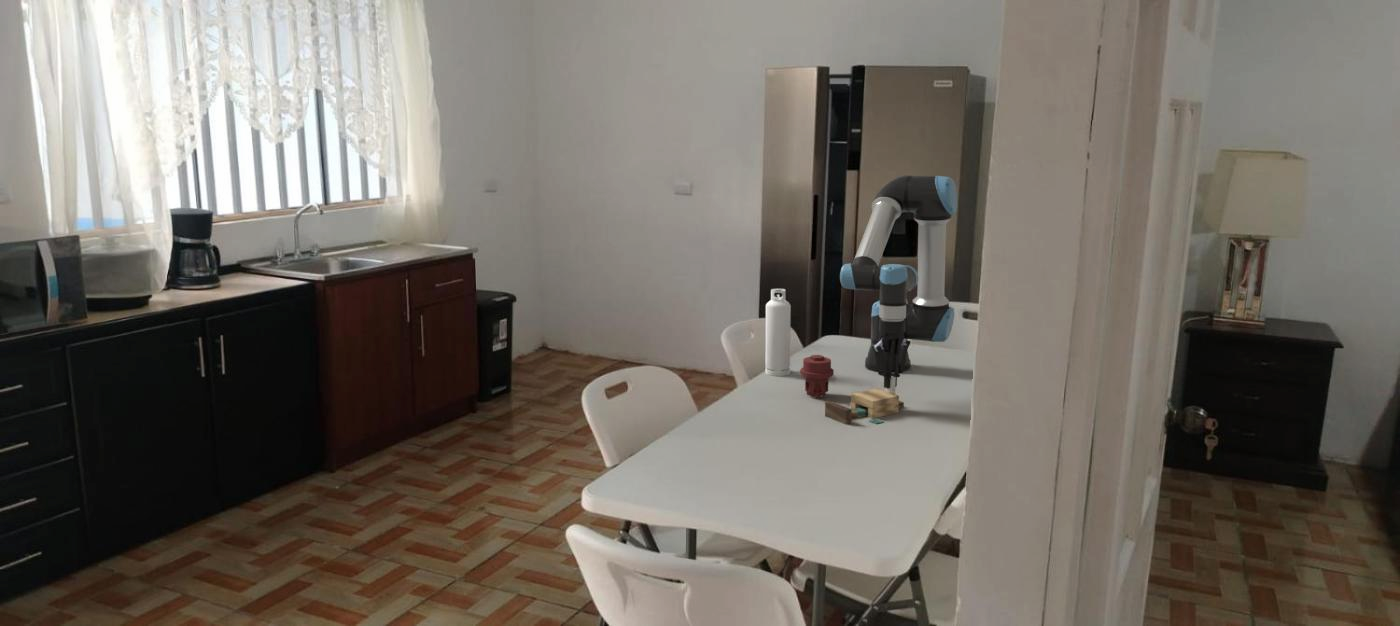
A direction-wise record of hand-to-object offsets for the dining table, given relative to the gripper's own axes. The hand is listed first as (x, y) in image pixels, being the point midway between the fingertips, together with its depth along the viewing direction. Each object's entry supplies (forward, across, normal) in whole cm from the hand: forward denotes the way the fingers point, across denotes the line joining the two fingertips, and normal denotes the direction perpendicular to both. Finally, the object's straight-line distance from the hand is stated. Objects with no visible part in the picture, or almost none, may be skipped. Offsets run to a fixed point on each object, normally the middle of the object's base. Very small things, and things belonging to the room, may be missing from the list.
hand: (889, 398), depth 282 cm
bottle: (+3, +3, -50) cm, 50 cm away
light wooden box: (+3, +6, 0) cm, 6 cm away
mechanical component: (+3, +9, -22) cm, 24 cm away
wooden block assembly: (+3, +8, 0) cm, 8 cm away
